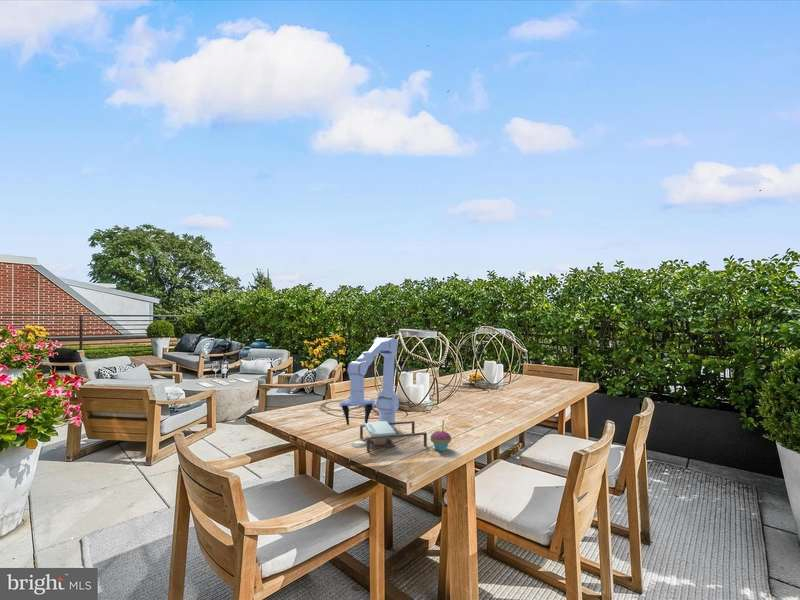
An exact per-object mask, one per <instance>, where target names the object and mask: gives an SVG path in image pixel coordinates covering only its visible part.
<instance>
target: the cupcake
mask: <svg viewBox="0 0 800 600" xmlns="http://www.w3.org/2000/svg"><path fill="white" fill-rule="evenodd" d="M441 425H442V426H441V431H440V430H437V431H435V432H433V433H432V434H431V435H430V442H432V444H433V447H434V449H435V450H436V451H438V452H445V451H447V449H448V446H449V444H450V443H451V441H452V435H450V433H448V432H446V431H444V427H445V418H443V420H442V424H441Z"/></svg>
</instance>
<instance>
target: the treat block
mask: <svg viewBox="0 0 800 600" xmlns="http://www.w3.org/2000/svg"><path fill="white" fill-rule="evenodd" d="M373 442H374V444H375V445H380V444H386V438H380V439H373Z"/></svg>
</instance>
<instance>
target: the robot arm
mask: <svg viewBox="0 0 800 600" xmlns="http://www.w3.org/2000/svg"><path fill="white" fill-rule="evenodd" d="M378 354H380V355H382V357H383V373H382V386H381V387H382V390H381V391H380V392H378V394H377V396H376V401H375V399H365V375H366V374H367V372H368V369H369V367H370V366H371V364H372V363H373V362H374V359H375V358H374V357H376V355H378ZM397 355H398V341H397V339H396V338H395V337H378V336H376V337H375V338H374V340H373V344H372V345H371V347H370V348H369V350H368V351H362V354H360V356H358V357H357V358H356V359H355V361H354V360H353V361H350V362H349V363H348V365H347V369H346V370H347V371H346V372H347V374H348V378H349V379H348V380H350V381H349V383H350V385H349V386H350V387H349V388H350V390H349V392H350V395H349V400H344V401H339V403H338V405H339V406H338V407H339V408H341V409H342V412H343V414H344V417H345V420H346V421H345V422H346V425H347V426H349V425H350V418H349V416H350V415H349V414H350V409H349V407H362V406H364V423H367V422H368V421H369V418H370V414H371V412H372V410H373V406H376V408H377V410H378V412H379V413H378V422H379V421H387V422H388V423H395V422H396V412H397V411H398V410H399V407H400V400H399V395H398V393H397V392H395V391H394V376H395V375H394V374H395V359H396V357H395V356H397ZM390 426H391V427H392V428H393V430H394V431H395V429H396V424H395V425H390Z"/></svg>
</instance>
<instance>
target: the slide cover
mask: <svg viewBox="0 0 800 600" xmlns="http://www.w3.org/2000/svg"><path fill="white" fill-rule="evenodd" d="M363 425H364V426H365V427H364V428H365V429H366V430H367V432H368V434H369V437H378V436H390V435H397V432H396V431H395V429H394V430H393V428H392V427H391V426H390V425H389V424H388V422H387V421H379V420H378V421H369V422H367V423H365V422H364V423H363Z"/></svg>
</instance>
